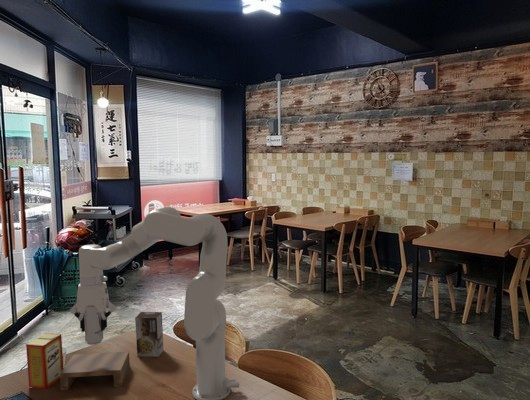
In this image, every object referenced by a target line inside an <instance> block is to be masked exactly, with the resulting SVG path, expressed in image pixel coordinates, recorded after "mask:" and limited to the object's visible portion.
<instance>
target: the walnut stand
mask: <svg viewBox="0 0 530 400" xmlns="http://www.w3.org/2000/svg"><path fill="white" fill-rule="evenodd" d="M130 363H131V362H130V351H115V352H113V351H111V352H96V353H95V352H94V353H76V354H73V355H72V356H71V358H69V360H68V361H67V363H66V364H65V366H63V370H62V371H61V373H60V379H59V380H60V391H67V390H68V391H69V389H70V388H71V386H72V385H73V383H74V382H75V380H76V378H80V377H95V376H96V377H99V376H100V377H101V376H113V386H114V388H119V387H123V383H124V381H125V379H126V377H127V374H128V371H129V369H130V368H131V366H130V365H131V364H130Z"/></svg>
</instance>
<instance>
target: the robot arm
mask: <svg viewBox="0 0 530 400" xmlns="http://www.w3.org/2000/svg"><path fill="white" fill-rule="evenodd" d="M161 240H162V241H166V242H170V243H173V244H178V245H181V246H187V247H191V246H195V245H198V244H200V243H202V247H201V251H200V254H199V255H200V257H199V270H198V273H197V275H196V276H193V278H192V279H191V280H190V281H189V283H188V284H187V287H186V289H185V301H184V313H183V314H184V315H183V316H184V317H183V326H184V329H185V333H186V335H187V336H188V337H189V338H190V339H191V340H193V341H195V359H196V360H195V361H196V363H195V364H196V366H195V367H196V368H195V369H196V370H195V371H196V384H195V385H194V386H193V388H192V391H191V393H192V397H193V398H194V399H196V400H224V399H226V398H227V397H228V396H229V395H230V394H231V388H238V389H239V388H240V381H239V380H237V381H236V378H228V377H227V374H226V339H225V338H226V323H227V310H226V307H225V305H224V304H223V302H222V301H220V300H219V299H218V298H219V297H220V296H221V295H222V294H223V292H224V291H225V288H226V276H227V275H226V273H227V259H228V258H227V256H228V235H227V231H226V228H225V226H224V224H223V223H222V222H221V221H220V220H219V219H218V218H217V217H216V216H214V215H212V214H209V213H199V214H196V215H193V216H190V217H182V215H181V213H180V212H179V210H178V209H176V208H175V207H171V206H164V207H161V208H157V209H154V210H151V211H149V212H148V213H146V215H145V217H144V219H143V220H142V221H139V223H137V224H135V225H133V227H132V229H131V233H130V234H129V235H127V236H125V237H124V238H123V239H121V240H119V241H118V242H115V243H112V244H109V245H107V246H103V247H102V246H101V245H99V244H85V245H81V247H79V249H78V263H79V264H78V265H79V266H78V267H79V284H78V286H77V292H76V302H75V304H73V306H72V307H71V308H70V309H69V312H70V313H71V314H73V316H75V318H77V319H78V321H79V326H80V327H79V329H81V332H82V333H85V326H84V313H85V308H86V307H87V306H88V305H94V306H95V307H97V310H98V312H99V313H100V315H101V317H102V320H101V330H102V331H103V332H104V331H105V329H106V328H108V327H107V326H108V318H109V316H110V315H111V314H113V312H114V311H115V310H117V307H116V306H115V305H114V304H113V303H112V302H111V301H110V300H109V299H110V298H109V290H108V286H107V282H106V281H108V276H106V275H104V271H106V270H110V269H113V268H115V267H117V266H120V265H122V264H124V263H126V262H127V261H129V260H131V259H133V258H134V257H136V256H138V255H139V254H140V253H142V252H143V251H145V250H147V249H148V248H150V247H151V246H153V245H154V244H156V243H157V242H159V241H161ZM108 308H109V310H108V311H107V309H108Z"/></svg>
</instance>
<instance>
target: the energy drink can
mask: <svg viewBox="0 0 530 400" xmlns="http://www.w3.org/2000/svg"><path fill="white" fill-rule="evenodd" d="M101 320H102V317H101V315H100V313H99V312H98V310H97V307H95V306H94V305H88V306H87V307H86V308H85V313H84V326H85V331H84V341H85V342H86V344H88V346H89V345H90V346H94V345H98V344H100V343H101V342H102V341H103V339H104V331H102V330H101Z"/></svg>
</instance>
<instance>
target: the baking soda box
mask: <svg viewBox="0 0 530 400" xmlns="http://www.w3.org/2000/svg"><path fill="white" fill-rule="evenodd" d="M62 339H63V338H62V334H60V333H47V332H46V333H45V332H44V333H43V334H40V336H38V337H36V338H34V339H33V340H31V341H29V342H27V343H26V344H25V347H26V362H27V365H26V366H27V375H28V376H27V377H28V378H27V379H28V388H29V387H32V388H31V389H34V388H38V389H37V390H44V389H45V390H48V389H49V388H50V387H51V386H52V385H54V384H56V383H57V382H58V381H59V380H60V373H61V371H62V370H63V368H64V357H63V356H64V354H63V345H62V344H63V342H62V341H63V340H62Z"/></svg>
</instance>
